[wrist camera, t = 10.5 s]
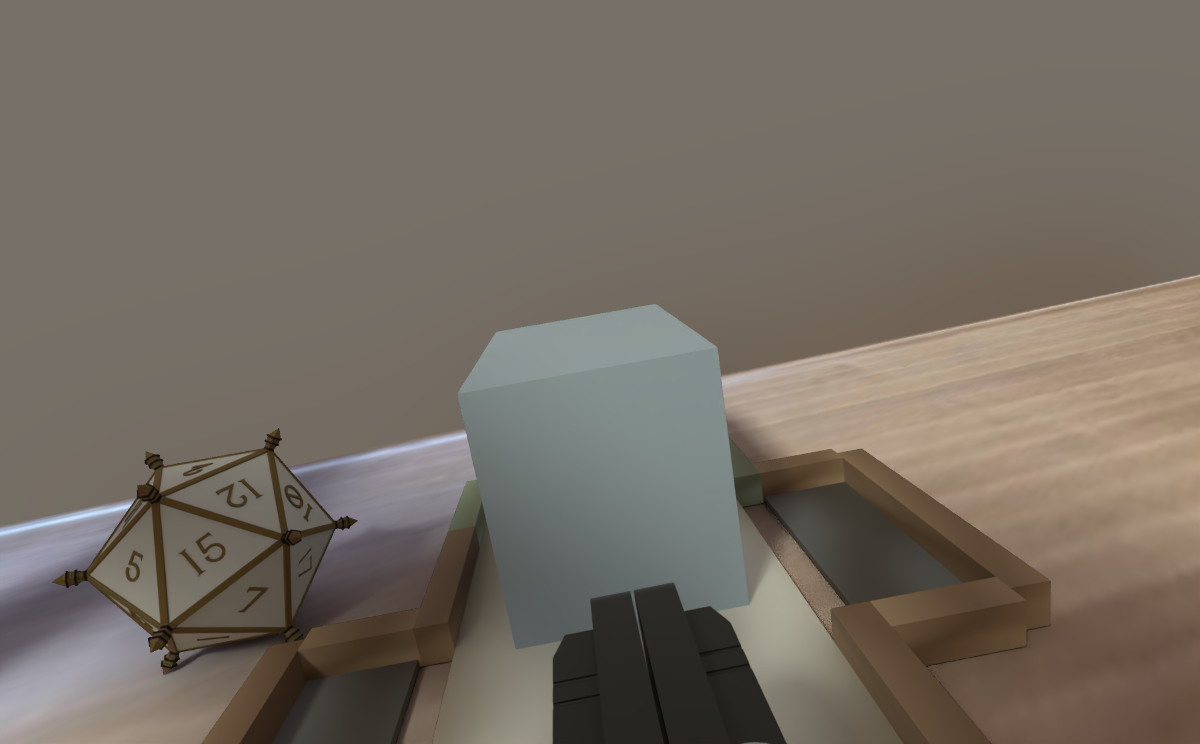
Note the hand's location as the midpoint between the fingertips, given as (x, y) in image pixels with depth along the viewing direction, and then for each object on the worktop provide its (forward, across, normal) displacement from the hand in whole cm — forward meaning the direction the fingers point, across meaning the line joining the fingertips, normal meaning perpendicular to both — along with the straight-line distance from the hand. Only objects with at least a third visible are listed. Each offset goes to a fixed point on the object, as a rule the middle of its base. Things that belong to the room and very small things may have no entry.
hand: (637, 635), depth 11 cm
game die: (+13, +15, +7) cm, 21 cm away
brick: (+15, 0, +6) cm, 16 cm away
